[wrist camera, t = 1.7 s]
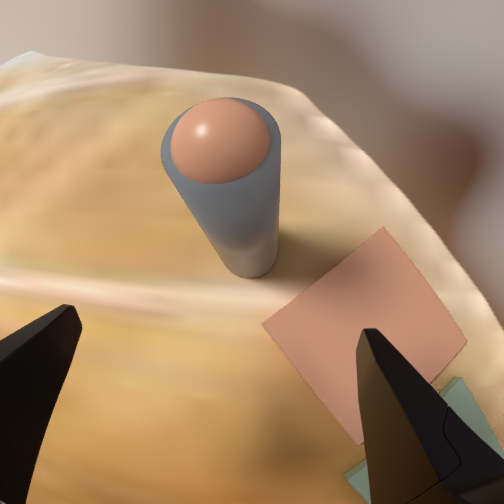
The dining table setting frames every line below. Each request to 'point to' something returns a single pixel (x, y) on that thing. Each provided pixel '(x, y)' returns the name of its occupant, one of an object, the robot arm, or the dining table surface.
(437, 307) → the terracotta tile
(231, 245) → the tube
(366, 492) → the sage tile
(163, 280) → the dining table surface
